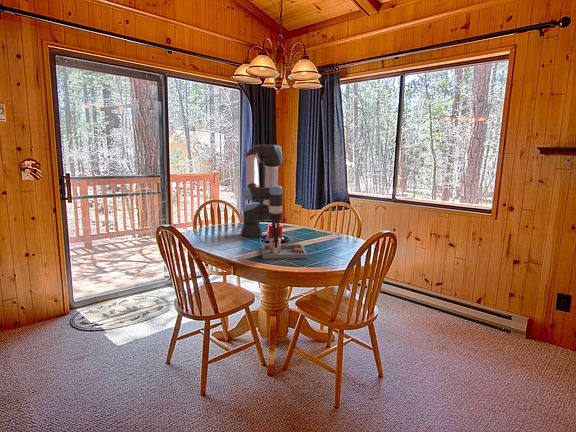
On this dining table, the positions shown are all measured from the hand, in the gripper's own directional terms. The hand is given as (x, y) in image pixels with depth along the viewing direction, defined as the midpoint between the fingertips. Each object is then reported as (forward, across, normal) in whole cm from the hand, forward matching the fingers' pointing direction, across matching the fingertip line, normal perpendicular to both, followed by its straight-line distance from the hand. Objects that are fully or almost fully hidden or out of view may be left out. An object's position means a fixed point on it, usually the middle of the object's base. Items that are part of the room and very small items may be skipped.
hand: (275, 250), depth 213 cm
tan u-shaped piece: (+2, 0, 0) cm, 2 cm away
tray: (+2, 0, +5) cm, 5 cm away
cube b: (+2, +5, +13) cm, 14 cm away
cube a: (+2, -5, +13) cm, 14 cm away
